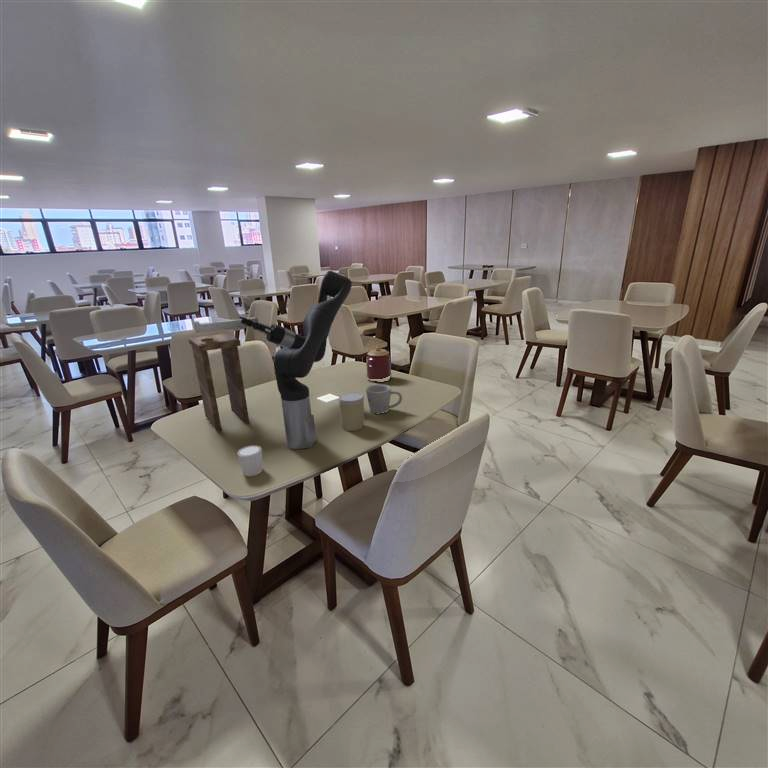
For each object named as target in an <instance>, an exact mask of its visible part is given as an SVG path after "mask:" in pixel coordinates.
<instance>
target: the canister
mask: <svg viewBox="0 0 768 768" xmlns="http://www.w3.org/2000/svg"><path fill="white" fill-rule="evenodd" d="M366 354H367V356H366V357H365V359H366V378H367V377H368V378H369V379H383V378H386V377H388V376H390V375H391V376H392V363H391V358H392V357H391V355H390V352H389V351H388V350H386V349H383V348H381V346H376V347H375V348H373V349H371V350H369V351H368V352H367V353H366Z"/></svg>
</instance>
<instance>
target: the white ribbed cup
mask: <svg viewBox="0 0 768 768" xmlns="http://www.w3.org/2000/svg"><path fill="white" fill-rule="evenodd" d="M262 452H263V449H262V447H261V446H259V445H247V446H244V447H241V448H240V449H239V450H237V456H238V457H237V458H238V461H239V465H240V468H241V470H242V474H243V475H244V476H246V477H254V476H257V475H260V474H261V473H262V471H263V457H262V456H263V453H262Z"/></svg>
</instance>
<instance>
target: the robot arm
mask: <svg viewBox="0 0 768 768" xmlns="http://www.w3.org/2000/svg"><path fill="white" fill-rule="evenodd" d="M352 285H353V282H352V280H351V279H350V278H348V277H347V276H344V275H342V274H340V273H338V272H336V271H332V270H328V271H326V273H325V274H324V276H323V277H322V280H321V284H320V289H319V294H318V301H317V304H315V305H313V306H312V307H310V309H309V310H308V312H307V313H306V315H305V317H304V319H303V322H302V330H303V334H304V336H301V335H300V334H298V333H295V332H294V331H292V330H290V329H288V328H286V327H283V326H282V325H279V324H276V323H272V324H271V325H268V324H265V323H262V322H259V321H258V322H255V321H251V320H249V319H246V318H247V317H244V316H243V317H242V316H240V317H239V318H238V319H242V321H241V323H243V324H245V325H248V326H250V327H249V328H252V330H253V331H256V332H258V333H259V334H262V335H264V336H265V337H266V341H267V342H269V343H272V344H274V345H277V346H280V347H281V348H280V349H278V350H277V351H276V352H275V354H274V357H273V368H274V375H275V380H276V385H277V390H278V392H279V394H280V399H281V409H282V417H283V423H284V424H283V425H284V431H285V440H286V446H287V448H289V449H293V450H301V449H305V448H309V449H310V448H311V447H312V446H313V445H314V443H315V442H317V441H316V440H317V434H316V427H315V426H316V425H315V415H314V414H312V408H311V396H310V389H309V387H308V386H307V385H306V384H304V383H302V382H300V380H298V379H302V378H306V377H307V376H308V375H309V373H310V372H311V370H312V368H313V364H314V363H318V362H320V361H322V359H323V358H324V357H325V355H326V348H327V342H328V341H327V339H328V337H329V334H330V331H331V328H332V325H333V323H334V320H335V318H336V316H337V314H338V313H339V310H340V308H341V307H342V306H343V304H344V303H345V301H346V299H347V298H348V296H349V294H350V292H351V290H352ZM328 296H329V297H332V298H329V299H328ZM297 378H298V379H297Z"/></svg>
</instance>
